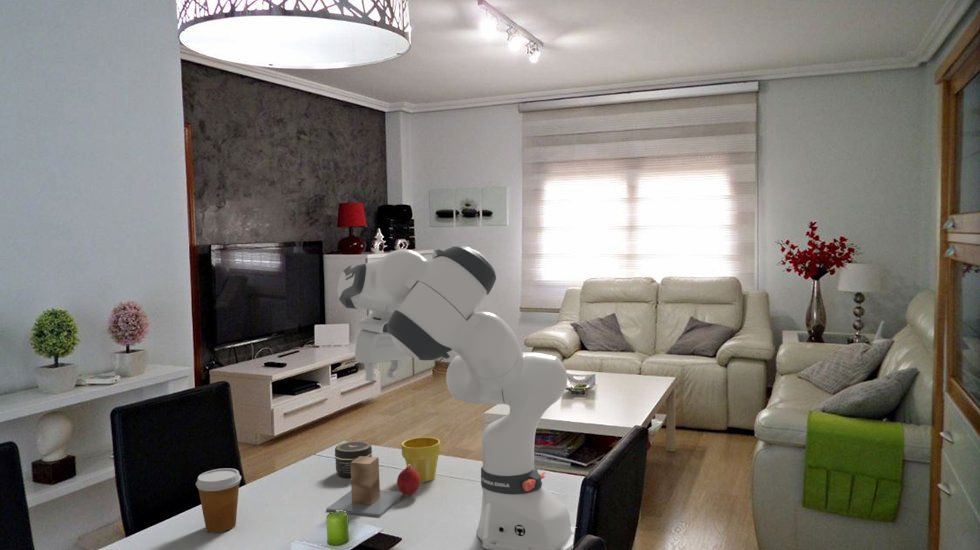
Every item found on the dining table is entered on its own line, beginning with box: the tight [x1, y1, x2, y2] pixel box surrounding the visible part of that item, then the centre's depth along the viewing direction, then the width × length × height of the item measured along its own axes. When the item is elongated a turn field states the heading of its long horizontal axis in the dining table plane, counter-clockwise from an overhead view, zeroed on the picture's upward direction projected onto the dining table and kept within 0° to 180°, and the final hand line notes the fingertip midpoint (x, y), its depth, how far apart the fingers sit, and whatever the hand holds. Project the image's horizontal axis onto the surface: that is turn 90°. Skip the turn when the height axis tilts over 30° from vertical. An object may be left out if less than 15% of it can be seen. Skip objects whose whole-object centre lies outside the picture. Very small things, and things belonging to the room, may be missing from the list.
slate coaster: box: [325, 489, 405, 518], centre depth 167 cm, size 14×14×1 cm
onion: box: [396, 464, 422, 497], centre depth 170 cm, size 6×6×8 cm
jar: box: [334, 440, 373, 480], centre depth 188 cm, size 10×10×8 cm
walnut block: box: [350, 456, 381, 505], centre depth 166 cm, size 5×5×10 cm
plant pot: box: [401, 436, 442, 483], centre depth 183 cm, size 10×10×10 cm
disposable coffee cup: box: [195, 467, 242, 533], centre depth 154 cm, size 10×10×12 cm
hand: (380, 379), depth 167 cm, fingers open, 8 cm apart
